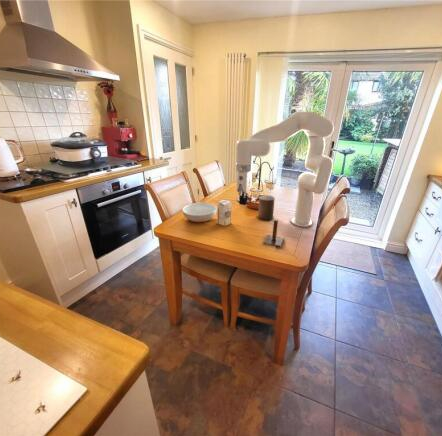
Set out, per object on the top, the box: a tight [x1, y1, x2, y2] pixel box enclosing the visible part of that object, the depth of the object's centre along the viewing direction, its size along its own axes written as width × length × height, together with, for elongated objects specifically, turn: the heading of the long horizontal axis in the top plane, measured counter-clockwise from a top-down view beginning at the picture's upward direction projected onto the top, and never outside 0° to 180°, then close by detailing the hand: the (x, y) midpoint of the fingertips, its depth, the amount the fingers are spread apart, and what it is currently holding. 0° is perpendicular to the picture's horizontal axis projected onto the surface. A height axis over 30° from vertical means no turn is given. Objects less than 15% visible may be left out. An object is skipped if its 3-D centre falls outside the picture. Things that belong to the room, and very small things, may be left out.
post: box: [263, 218, 284, 249], centre depth 121 cm, size 9×9×13 cm
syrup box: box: [217, 199, 232, 227], centre depth 137 cm, size 6×6×14 cm
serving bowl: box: [182, 201, 218, 223], centre depth 145 cm, size 21×21×7 cm
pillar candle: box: [257, 194, 275, 222], centre depth 148 cm, size 10×10×15 cm
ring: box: [235, 195, 255, 205], centre depth 121 cm, size 9×9×2 cm
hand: (243, 203), depth 118 cm, fingers closed on ring, 2 cm apart
